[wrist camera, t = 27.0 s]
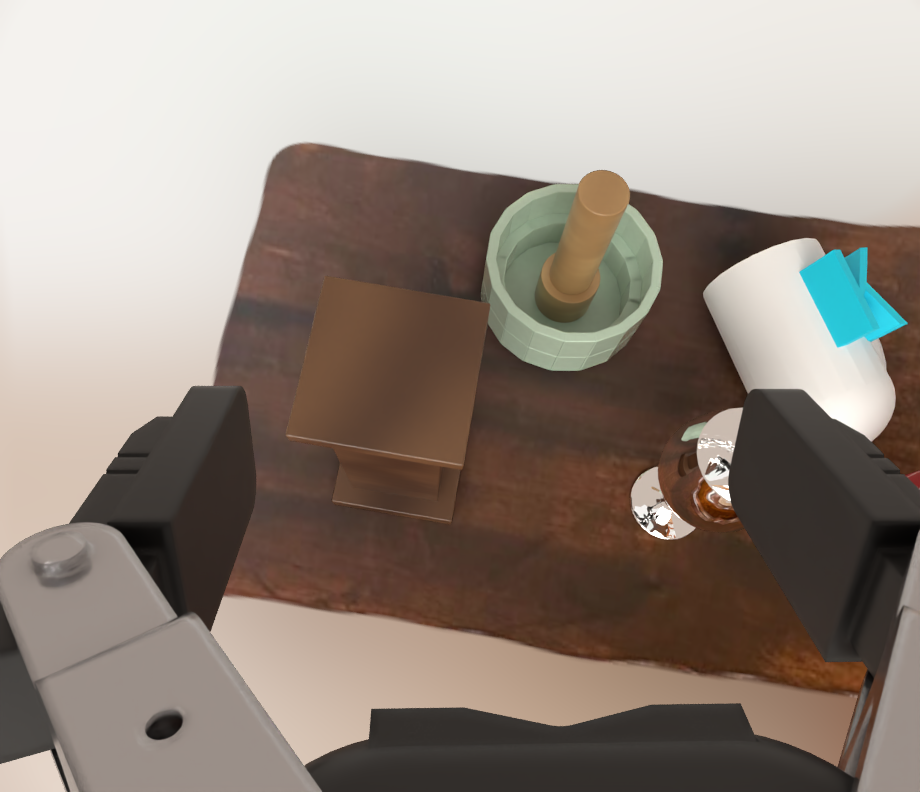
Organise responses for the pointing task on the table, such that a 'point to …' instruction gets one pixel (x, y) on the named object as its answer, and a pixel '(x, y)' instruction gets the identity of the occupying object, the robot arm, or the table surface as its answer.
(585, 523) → the table surface
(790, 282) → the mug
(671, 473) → the wineglass
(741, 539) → the table surface
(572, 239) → the muddler
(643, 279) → the bowl
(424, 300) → the stand
